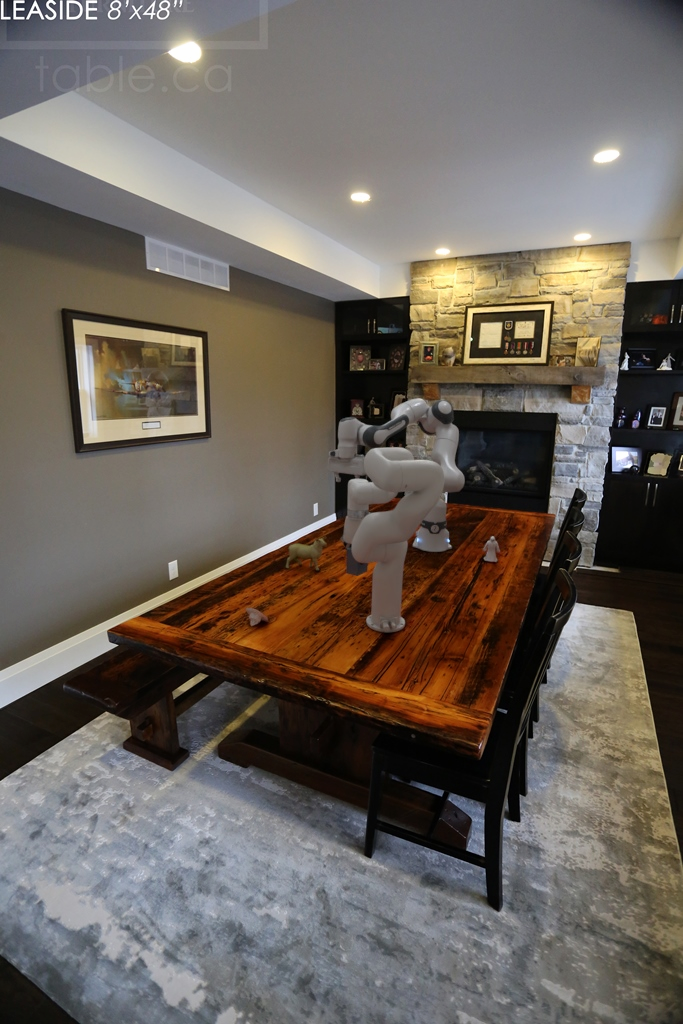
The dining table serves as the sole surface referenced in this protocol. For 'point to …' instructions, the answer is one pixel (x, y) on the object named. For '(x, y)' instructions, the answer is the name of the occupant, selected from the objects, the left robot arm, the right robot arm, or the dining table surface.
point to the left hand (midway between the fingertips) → (356, 561)
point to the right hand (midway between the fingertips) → (346, 482)
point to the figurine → (491, 550)
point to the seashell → (255, 616)
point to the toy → (306, 552)
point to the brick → (354, 565)
